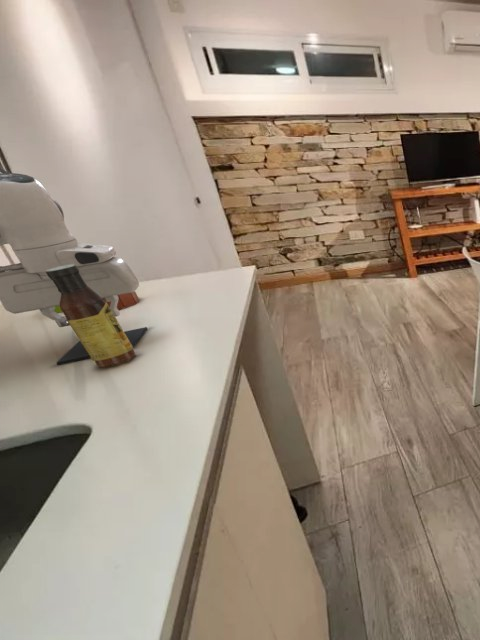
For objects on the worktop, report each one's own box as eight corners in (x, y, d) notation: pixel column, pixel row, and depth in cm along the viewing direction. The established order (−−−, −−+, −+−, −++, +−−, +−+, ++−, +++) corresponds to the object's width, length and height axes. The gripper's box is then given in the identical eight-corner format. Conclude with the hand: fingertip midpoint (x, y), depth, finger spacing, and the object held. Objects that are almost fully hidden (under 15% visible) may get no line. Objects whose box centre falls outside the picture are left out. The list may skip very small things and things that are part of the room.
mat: (57, 365, 96) (55, 362, 96) (80, 343, 106) (78, 340, 106) (132, 348, 101) (131, 346, 101) (147, 329, 111) (146, 326, 110)
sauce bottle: (142, 357, 97) (89, 264, 88) (103, 371, 92) (43, 274, 83) (130, 351, 100) (78, 260, 91) (91, 365, 95) (32, 270, 86)
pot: (85, 316, 122) (75, 300, 120) (99, 304, 130) (90, 289, 128) (132, 307, 126) (124, 291, 124) (143, 296, 134) (135, 281, 132)
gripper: (-29, 273, 88) (16, 339, 94) (112, 251, 96) (146, 313, 102) (-11, 265, 93) (31, 328, 99) (122, 245, 101) (153, 304, 107)
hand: (90, 320), depth 101 cm, fingers open, 7 cm apart
